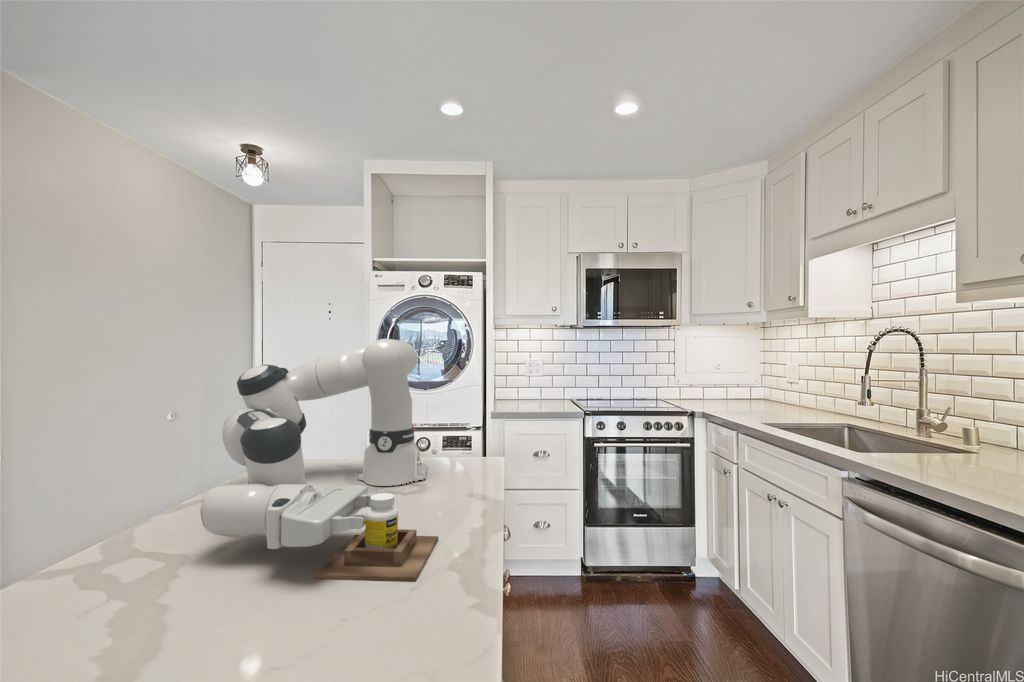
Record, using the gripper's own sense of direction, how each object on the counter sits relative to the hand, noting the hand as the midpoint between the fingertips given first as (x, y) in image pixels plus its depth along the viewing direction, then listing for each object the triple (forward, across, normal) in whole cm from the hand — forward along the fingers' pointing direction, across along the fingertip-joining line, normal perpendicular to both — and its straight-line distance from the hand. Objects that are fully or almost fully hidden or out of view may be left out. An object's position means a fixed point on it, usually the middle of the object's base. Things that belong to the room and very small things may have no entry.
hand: (374, 511), depth 80 cm
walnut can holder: (+1, 0, -8) cm, 8 cm away
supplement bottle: (+1, 0, -7) cm, 7 cm away
